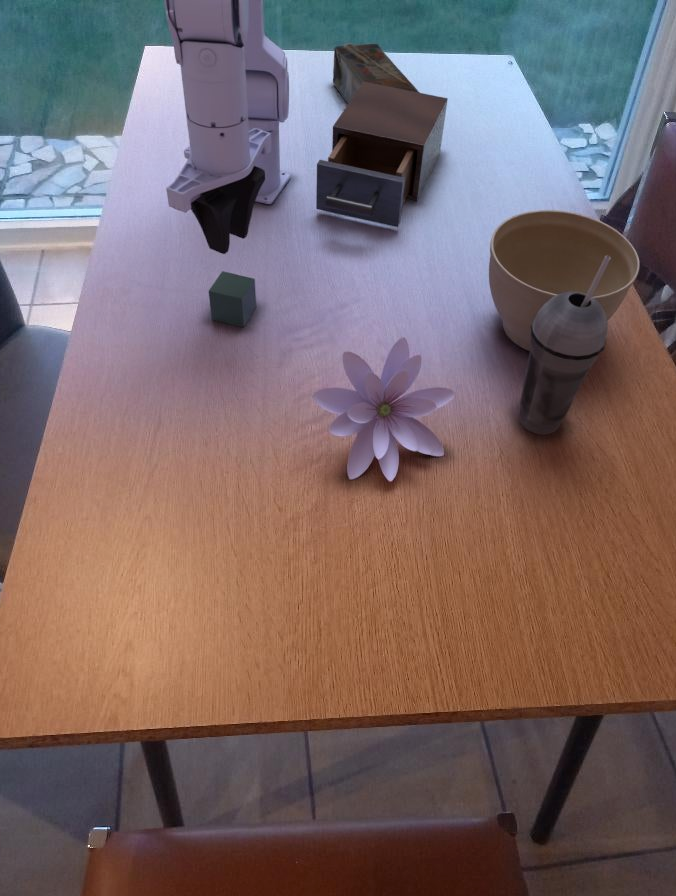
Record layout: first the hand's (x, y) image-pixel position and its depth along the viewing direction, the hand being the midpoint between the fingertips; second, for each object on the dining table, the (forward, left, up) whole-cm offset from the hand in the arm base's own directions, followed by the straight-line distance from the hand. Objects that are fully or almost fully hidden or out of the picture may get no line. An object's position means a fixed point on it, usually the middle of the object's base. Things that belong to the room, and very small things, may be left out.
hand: (228, 242), depth 83 cm
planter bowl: (+35, +10, -10) cm, 38 cm away
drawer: (+8, +28, -8) cm, 30 cm away
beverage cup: (+37, -5, -10) cm, 39 cm away
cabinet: (+8, +39, -9) cm, 41 cm away
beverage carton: (+1, +56, -10) cm, 57 cm away
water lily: (+22, -15, -10) cm, 28 cm away
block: (0, 0, -9) cm, 9 cm away
